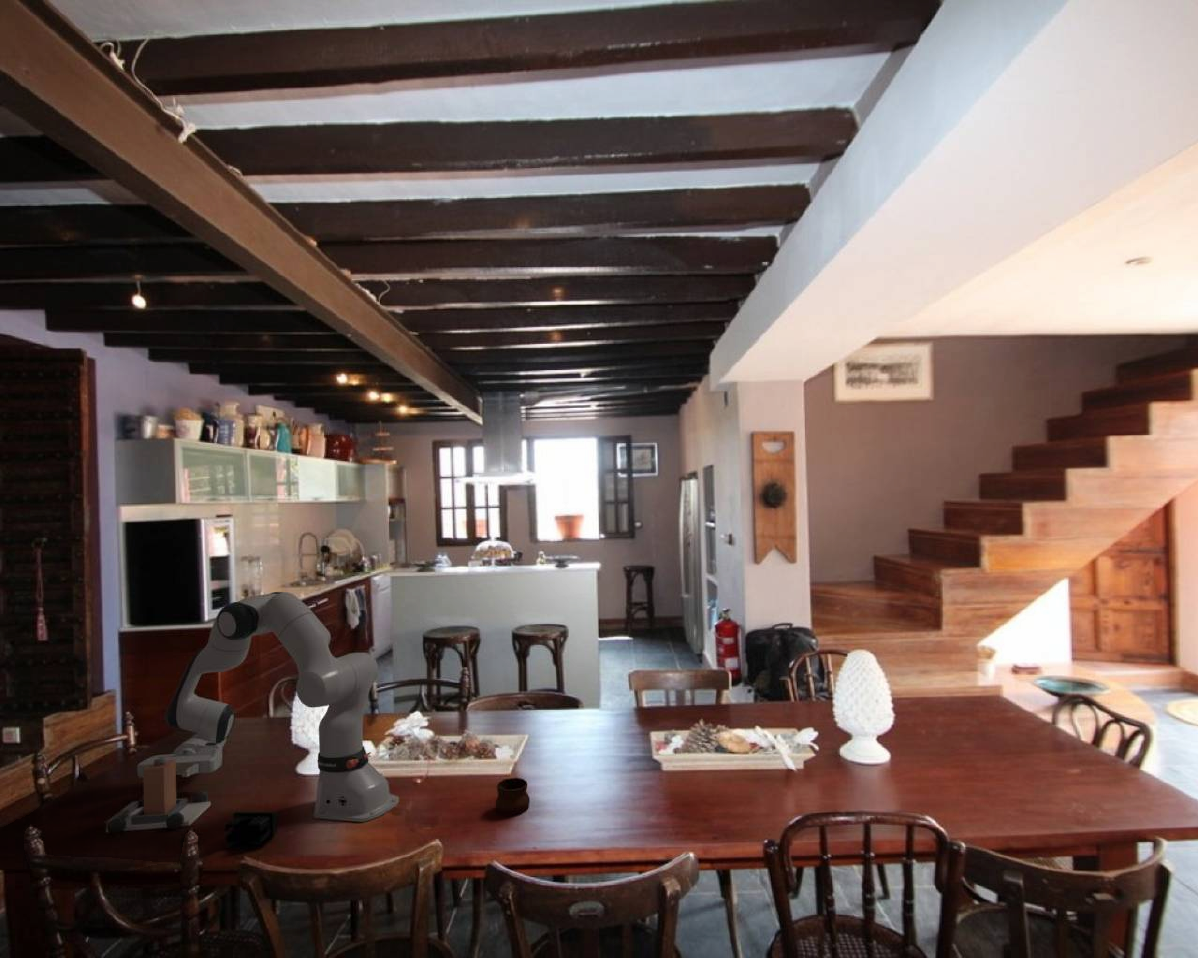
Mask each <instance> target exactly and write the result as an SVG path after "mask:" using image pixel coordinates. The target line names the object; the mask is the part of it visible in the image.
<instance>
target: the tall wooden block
mask: <svg viewBox="0 0 1198 958" xmlns="http://www.w3.org/2000/svg"><path fill="white" fill-rule="evenodd" d="M142 778H143V796H144V815H150V814H163V813H167V812H168V811H169V810H171V809H172V808H173V807H174V806H175V805H176V799H177V777H176V768H175V760H165V758H160V759H156V760H154V762H153V763H152V764H151V765H149V766H148V767H146V768H145V769H143V777H142Z"/></svg>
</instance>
